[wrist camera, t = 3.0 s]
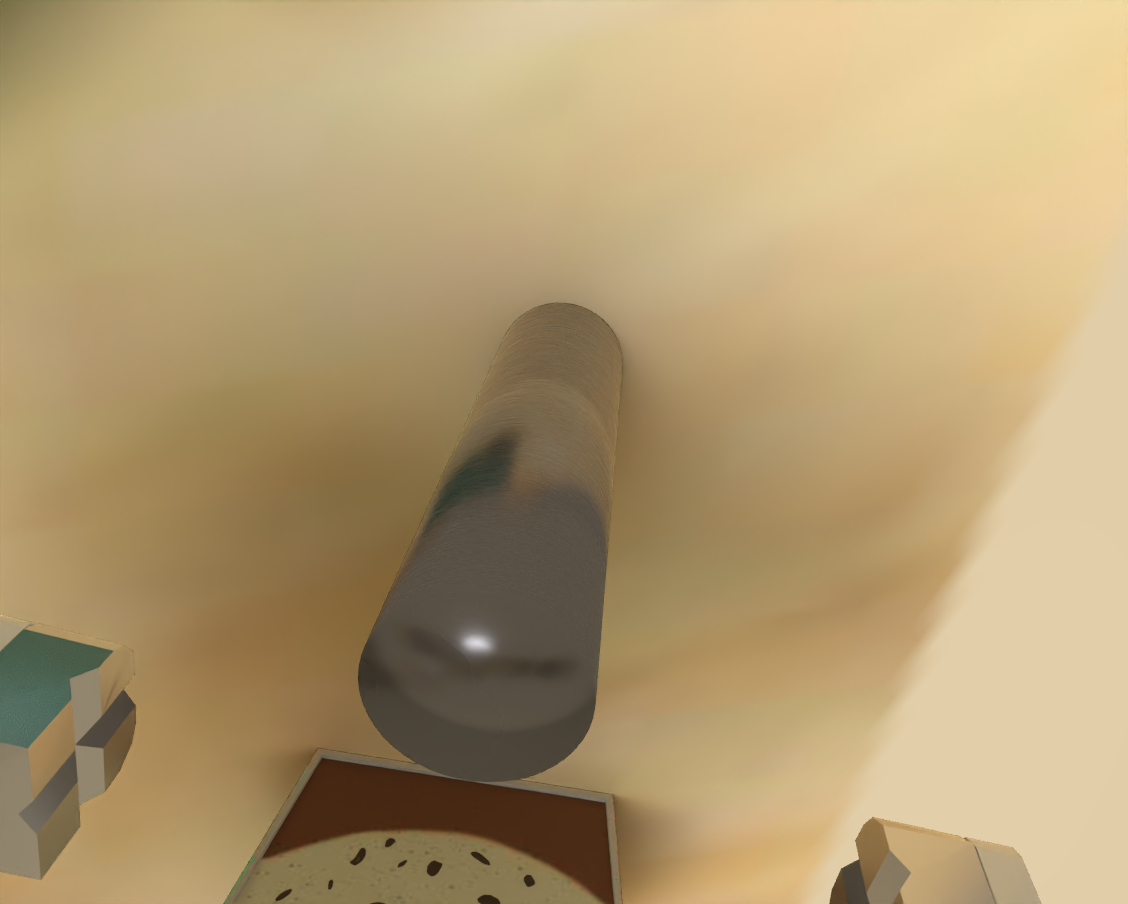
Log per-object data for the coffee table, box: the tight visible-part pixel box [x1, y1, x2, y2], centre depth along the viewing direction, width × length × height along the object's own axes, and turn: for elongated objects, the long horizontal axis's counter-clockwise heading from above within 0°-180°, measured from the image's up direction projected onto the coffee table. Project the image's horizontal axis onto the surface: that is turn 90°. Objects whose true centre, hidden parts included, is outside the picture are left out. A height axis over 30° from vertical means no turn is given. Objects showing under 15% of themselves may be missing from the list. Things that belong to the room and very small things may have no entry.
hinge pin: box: [358, 303, 622, 782], centre depth 17 cm, size 3×3×12 cm
